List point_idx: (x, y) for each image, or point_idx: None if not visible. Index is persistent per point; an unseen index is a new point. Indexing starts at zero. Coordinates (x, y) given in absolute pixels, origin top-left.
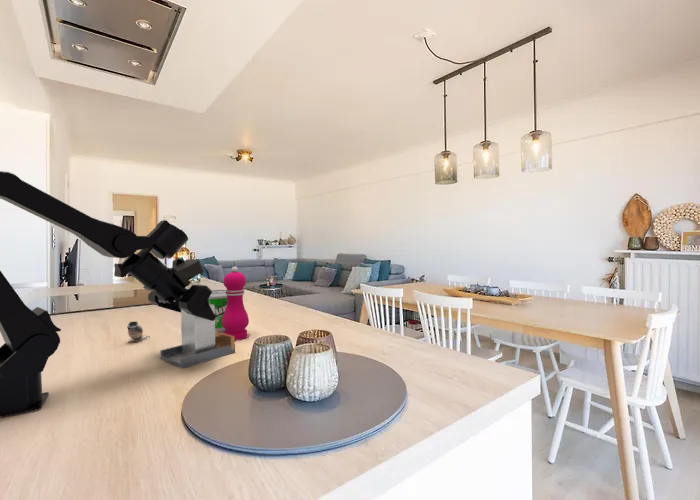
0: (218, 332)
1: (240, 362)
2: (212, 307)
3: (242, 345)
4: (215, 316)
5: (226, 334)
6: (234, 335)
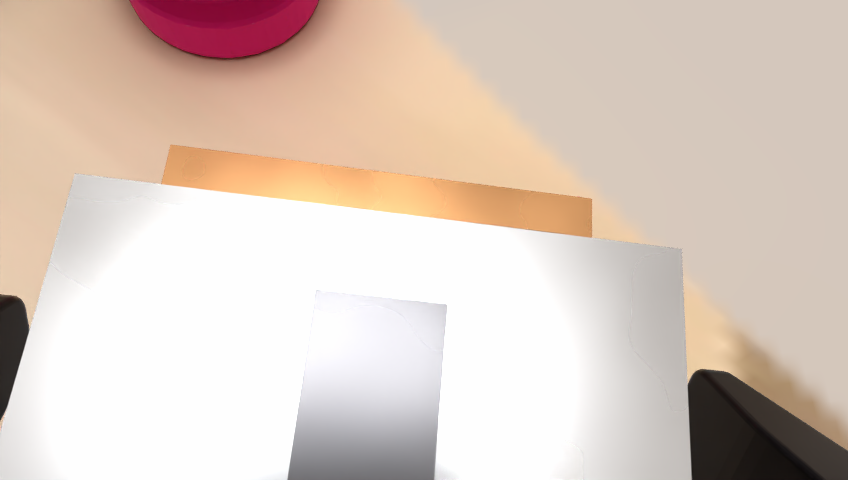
0: (337, 181)
1: (763, 378)
2: (674, 309)
3: (450, 102)
4: (741, 382)
5: (475, 195)
6: (286, 14)
